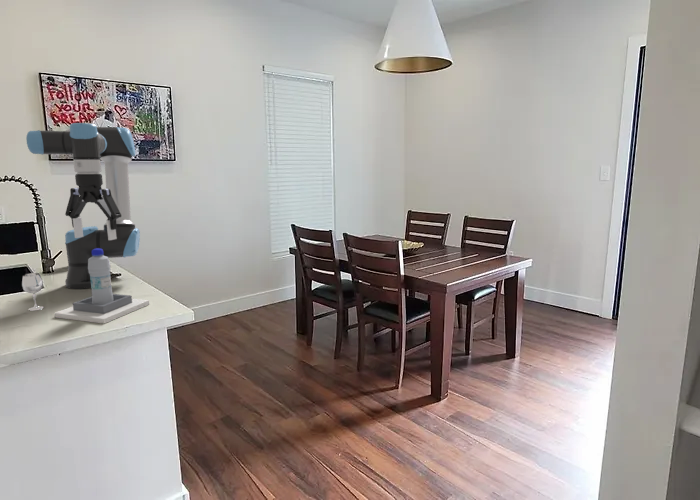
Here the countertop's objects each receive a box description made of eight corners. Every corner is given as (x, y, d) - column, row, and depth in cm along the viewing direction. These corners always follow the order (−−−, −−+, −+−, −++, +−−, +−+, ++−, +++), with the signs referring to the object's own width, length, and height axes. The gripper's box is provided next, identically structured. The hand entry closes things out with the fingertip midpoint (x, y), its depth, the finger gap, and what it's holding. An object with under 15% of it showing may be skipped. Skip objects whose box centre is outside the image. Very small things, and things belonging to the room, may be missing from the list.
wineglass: (28, 307, 157) (23, 273, 155) (47, 305, 159) (43, 272, 157) (23, 312, 152) (18, 277, 150) (44, 310, 154) (39, 275, 152)
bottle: (105, 310, 150) (98, 250, 146) (87, 308, 151) (80, 249, 147) (119, 303, 156) (113, 246, 152) (102, 302, 157) (95, 246, 153)
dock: (103, 299, 166) (102, 288, 165) (149, 304, 160) (148, 293, 160) (54, 317, 147) (53, 305, 146) (104, 323, 141) (103, 311, 141)
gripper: (47, 173, 145) (55, 238, 149) (111, 174, 138) (118, 242, 142) (67, 172, 152) (75, 234, 156) (129, 173, 145) (135, 238, 149)
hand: (95, 238), depth 149 cm, fingers open, 13 cm apart
